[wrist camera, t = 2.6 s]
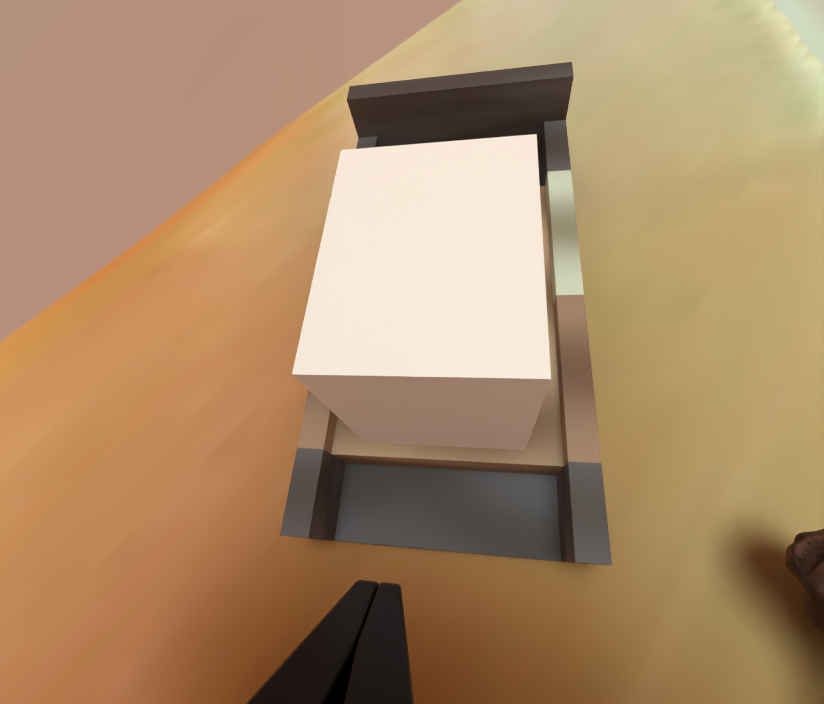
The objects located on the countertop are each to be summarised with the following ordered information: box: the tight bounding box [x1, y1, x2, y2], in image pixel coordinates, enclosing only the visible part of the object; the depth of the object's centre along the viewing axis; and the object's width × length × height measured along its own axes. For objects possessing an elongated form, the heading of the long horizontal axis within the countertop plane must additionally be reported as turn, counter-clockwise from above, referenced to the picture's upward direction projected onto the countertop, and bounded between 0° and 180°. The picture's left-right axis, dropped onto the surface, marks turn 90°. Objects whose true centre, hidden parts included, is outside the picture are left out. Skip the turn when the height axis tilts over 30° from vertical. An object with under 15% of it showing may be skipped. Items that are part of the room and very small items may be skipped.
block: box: [292, 134, 551, 450], centre depth 17 cm, size 9×7×8 cm
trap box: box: [280, 62, 612, 565], centre depth 21 cm, size 24×12×6 cm, turn 176°
